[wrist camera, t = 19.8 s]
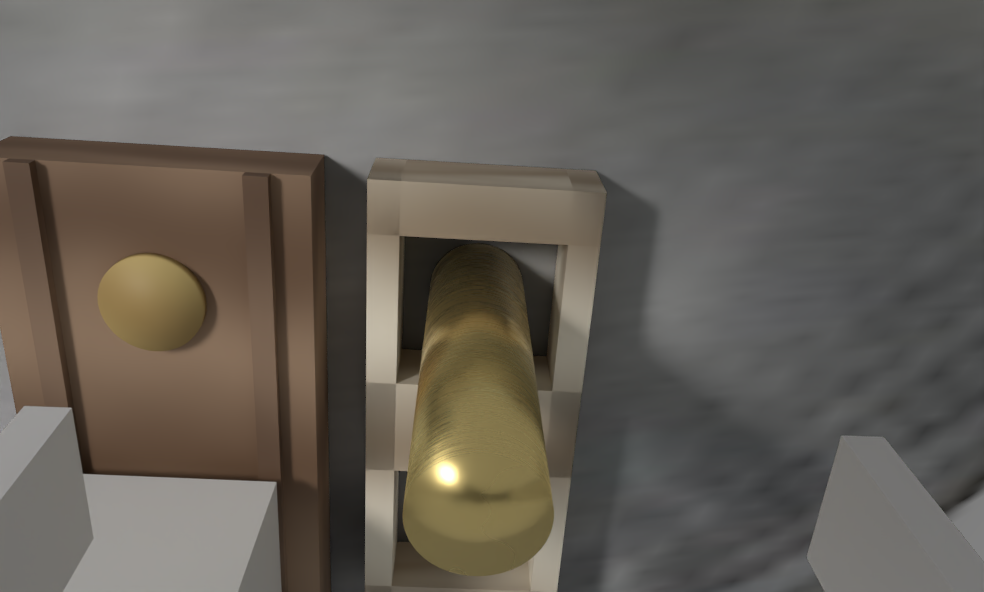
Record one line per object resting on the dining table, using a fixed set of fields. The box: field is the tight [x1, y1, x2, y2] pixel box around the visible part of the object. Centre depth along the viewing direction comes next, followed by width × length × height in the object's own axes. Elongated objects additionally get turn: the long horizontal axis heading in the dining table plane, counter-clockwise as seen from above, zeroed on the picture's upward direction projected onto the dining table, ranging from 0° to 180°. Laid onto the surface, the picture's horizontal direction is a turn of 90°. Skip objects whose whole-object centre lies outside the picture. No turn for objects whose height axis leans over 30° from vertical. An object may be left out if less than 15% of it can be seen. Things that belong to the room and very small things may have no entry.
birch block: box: [365, 158, 607, 592], centre depth 24 cm, size 14×6×2 cm, turn 176°
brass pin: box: [402, 243, 554, 576], centre depth 19 cm, size 3×3×10 cm
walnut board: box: [0, 136, 331, 592], centre depth 24 cm, size 15×8×2 cm, turn 176°
